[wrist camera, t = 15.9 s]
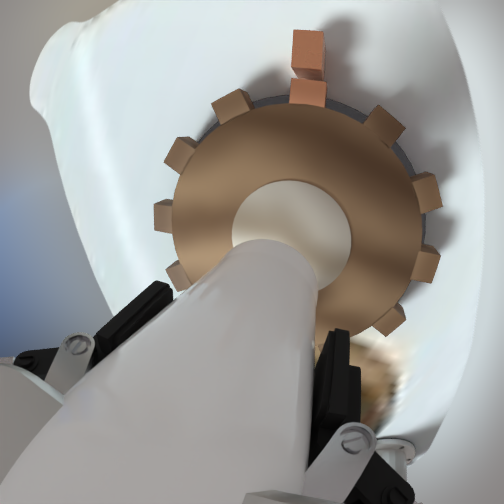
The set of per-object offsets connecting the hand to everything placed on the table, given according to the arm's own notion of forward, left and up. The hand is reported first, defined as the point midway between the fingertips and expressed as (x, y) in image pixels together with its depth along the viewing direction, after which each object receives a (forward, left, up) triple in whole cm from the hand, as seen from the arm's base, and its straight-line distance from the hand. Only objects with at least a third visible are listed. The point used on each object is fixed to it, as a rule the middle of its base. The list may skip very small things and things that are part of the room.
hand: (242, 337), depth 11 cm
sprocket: (0, 0, -14) cm, 14 cm away
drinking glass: (0, 0, -5) cm, 5 cm away
